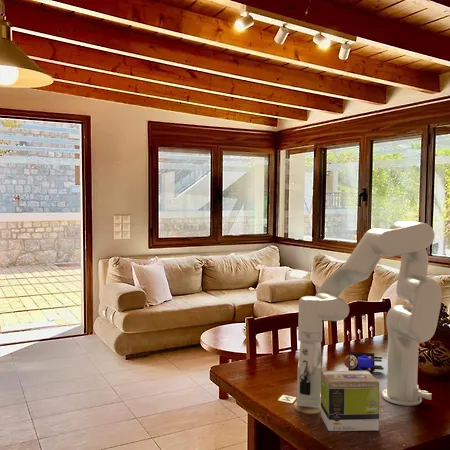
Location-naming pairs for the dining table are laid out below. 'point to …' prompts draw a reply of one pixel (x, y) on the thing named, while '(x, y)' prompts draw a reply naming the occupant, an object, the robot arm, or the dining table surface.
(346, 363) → the character figurine
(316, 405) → the supplement box
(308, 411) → the cork coaster
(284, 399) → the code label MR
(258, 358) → the dining table surface
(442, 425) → the dining table surface
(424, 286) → the robot arm
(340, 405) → the tea box
